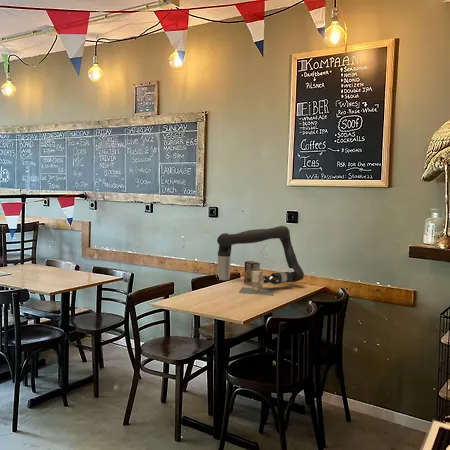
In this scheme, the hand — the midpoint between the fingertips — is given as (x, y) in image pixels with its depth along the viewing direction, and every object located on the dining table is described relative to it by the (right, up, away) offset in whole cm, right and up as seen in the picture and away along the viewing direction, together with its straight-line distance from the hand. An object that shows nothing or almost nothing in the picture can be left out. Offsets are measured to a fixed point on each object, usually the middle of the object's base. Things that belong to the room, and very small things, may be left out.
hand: (259, 280), depth 306 cm
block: (-2, -7, -1) cm, 7 cm away
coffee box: (-4, -6, +19) cm, 21 cm away
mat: (-2, -7, -1) cm, 8 cm away
